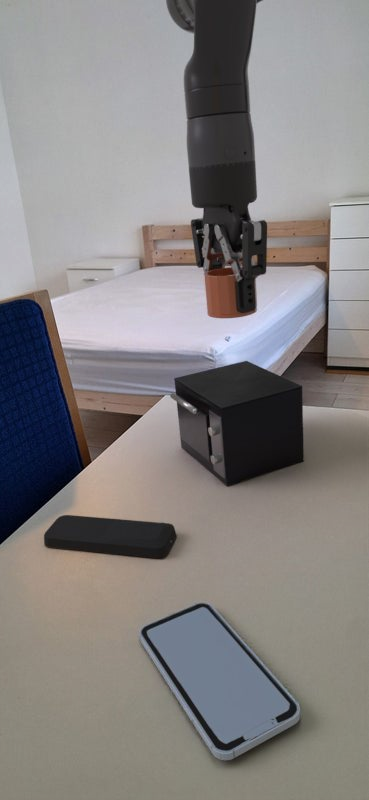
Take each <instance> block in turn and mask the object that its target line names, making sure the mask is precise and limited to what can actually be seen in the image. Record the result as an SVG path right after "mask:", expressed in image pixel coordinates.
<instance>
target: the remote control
mask: <svg viewBox="0 0 369 800" xmlns="http://www.w3.org/2000/svg"><path fill="white" fill-rule="evenodd" d="M177 535H178V534H177V532H176V529H175V526H174V525H173V523H168V522H157V521H147V520H146V521H144V520H134V519H121V518H111V517H110V518H109V517H98V516H96V517H95V516H85V515H73V514H63V515H60V516H58V518H56V519H55V520H54V521H53V522H52V524H51V525H50V526H49V528H48V529H47V530H46V531H45V532H44V534H43V545H44V547H47V548H52V549H64V550H70V551H71V550H72V551H83V552H91V553H101V554H113V555H123V556H132V557H142V558H150V559H163V558H165V557H167V556H168V555H169V553H170V551H171V549H172V547H173V545H174V543H175V541H176V539H177Z"/></svg>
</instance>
